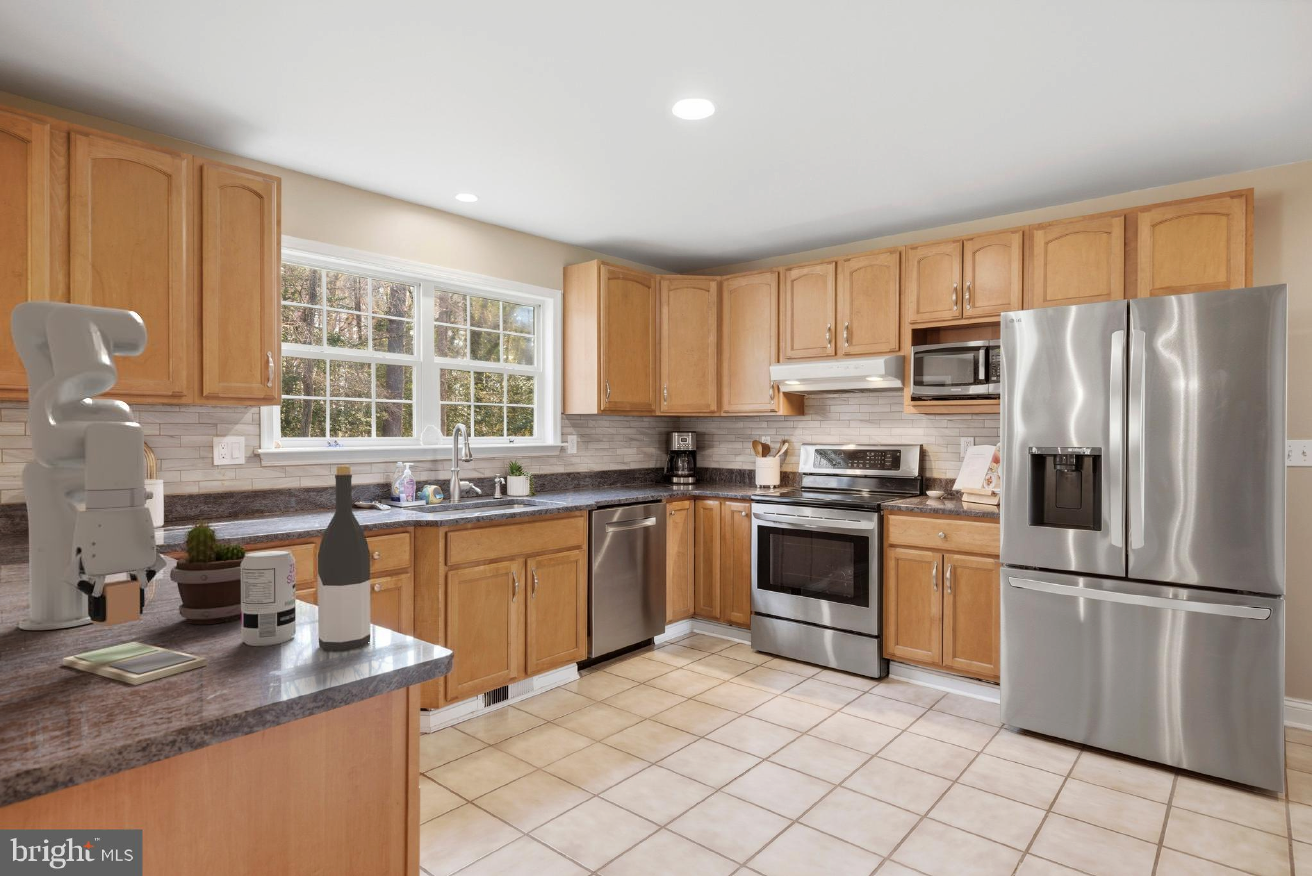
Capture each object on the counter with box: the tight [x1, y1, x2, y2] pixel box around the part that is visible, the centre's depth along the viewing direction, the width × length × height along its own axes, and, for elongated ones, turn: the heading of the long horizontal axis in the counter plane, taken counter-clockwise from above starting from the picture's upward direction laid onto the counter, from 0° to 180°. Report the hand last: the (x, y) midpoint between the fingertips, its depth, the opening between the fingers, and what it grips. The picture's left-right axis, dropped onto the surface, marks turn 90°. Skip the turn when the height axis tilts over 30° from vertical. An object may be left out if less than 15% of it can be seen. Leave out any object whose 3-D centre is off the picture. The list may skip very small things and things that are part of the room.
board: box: [62, 641, 208, 686], centre depth 112 cm, size 20×10×1 cm, turn 62°
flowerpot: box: [169, 516, 248, 625], centre depth 141 cm, size 14×15×20 cm
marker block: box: [91, 578, 141, 627], centre depth 115 cm, size 4×4×6 cm
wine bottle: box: [317, 465, 371, 652], centre depth 122 cm, size 8×8×30 cm
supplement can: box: [240, 549, 297, 647], centre depth 125 cm, size 8×8×15 cm
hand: (117, 616), depth 114 cm, fingers closed on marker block, 4 cm apart
